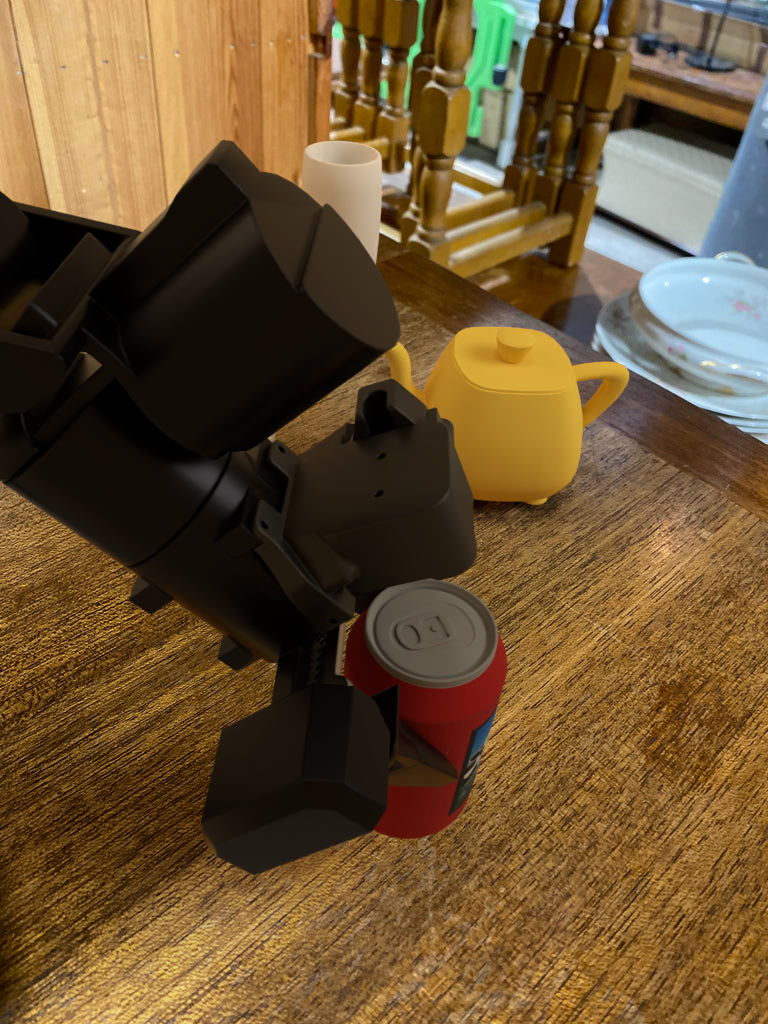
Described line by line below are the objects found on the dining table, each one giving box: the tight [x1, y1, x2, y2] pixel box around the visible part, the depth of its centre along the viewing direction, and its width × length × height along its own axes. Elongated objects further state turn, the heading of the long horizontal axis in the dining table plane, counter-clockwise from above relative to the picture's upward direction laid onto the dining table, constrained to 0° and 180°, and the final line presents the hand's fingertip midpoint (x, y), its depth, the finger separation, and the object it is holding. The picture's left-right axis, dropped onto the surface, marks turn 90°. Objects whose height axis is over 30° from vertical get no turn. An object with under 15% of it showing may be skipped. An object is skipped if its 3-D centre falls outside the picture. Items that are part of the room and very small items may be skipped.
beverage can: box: [342, 578, 508, 840], centre depth 35 cm, size 7×7×12 cm
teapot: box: [384, 326, 630, 506], centre depth 60 cm, size 13×20×12 cm
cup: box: [300, 140, 383, 265], centre depth 83 cm, size 8×8×14 cm
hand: (447, 708), depth 35 cm, fingers closed on beverage can, 7 cm apart
